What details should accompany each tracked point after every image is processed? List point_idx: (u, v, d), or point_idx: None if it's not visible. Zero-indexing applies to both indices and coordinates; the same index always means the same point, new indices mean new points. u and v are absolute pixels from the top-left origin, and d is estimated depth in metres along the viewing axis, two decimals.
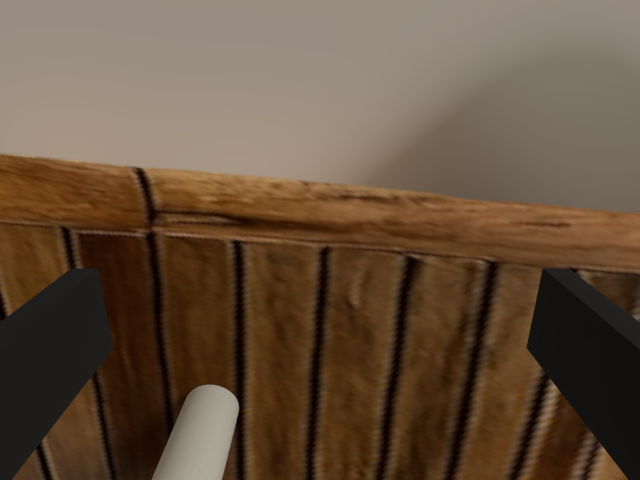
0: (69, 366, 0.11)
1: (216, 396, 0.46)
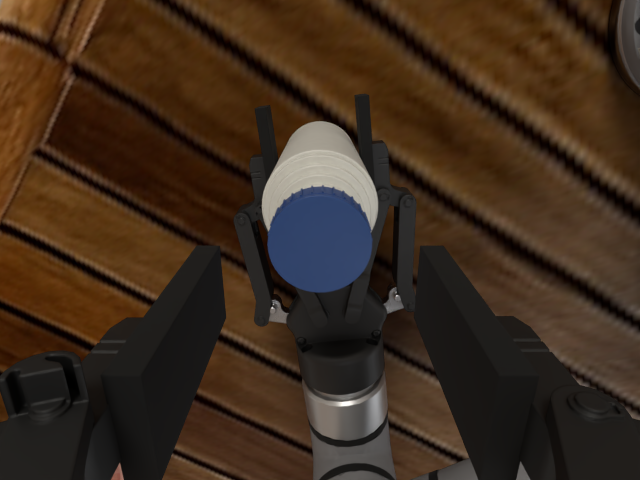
0: (208, 328, 0.13)
1: (297, 131, 0.35)
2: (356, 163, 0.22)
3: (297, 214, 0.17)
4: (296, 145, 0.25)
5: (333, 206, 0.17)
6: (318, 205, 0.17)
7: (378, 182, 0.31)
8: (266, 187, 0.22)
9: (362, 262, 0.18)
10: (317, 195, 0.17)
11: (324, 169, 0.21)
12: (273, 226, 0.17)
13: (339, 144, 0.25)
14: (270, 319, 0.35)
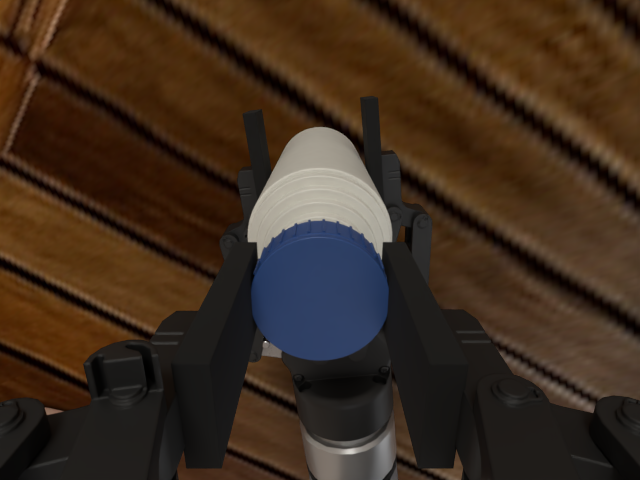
0: (250, 321, 0.13)
1: (293, 138, 0.31)
2: (365, 184, 0.17)
3: (289, 261, 0.13)
4: (291, 159, 0.21)
5: (338, 251, 0.12)
6: (317, 250, 0.12)
7: (388, 199, 0.27)
8: (253, 214, 0.18)
9: (376, 323, 0.13)
10: (316, 236, 0.12)
11: (325, 194, 0.16)
12: (257, 277, 0.13)
13: (343, 158, 0.20)
14: (263, 353, 0.31)
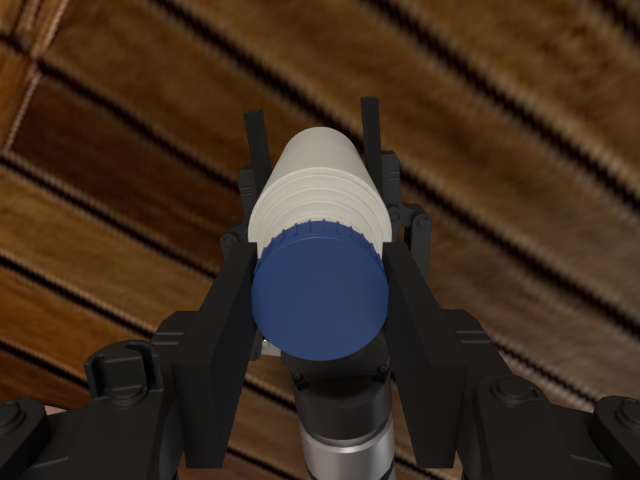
0: (250, 321, 0.13)
1: (294, 138, 0.31)
2: (365, 184, 0.17)
3: (287, 338, 0.14)
4: (291, 158, 0.21)
5: (261, 303, 0.13)
6: (267, 319, 0.13)
7: (387, 199, 0.27)
8: (253, 212, 0.18)
9: (325, 244, 0.12)
10: (256, 322, 0.13)
11: (325, 193, 0.16)
12: (312, 358, 0.14)
13: (343, 158, 0.20)
14: (262, 352, 0.31)
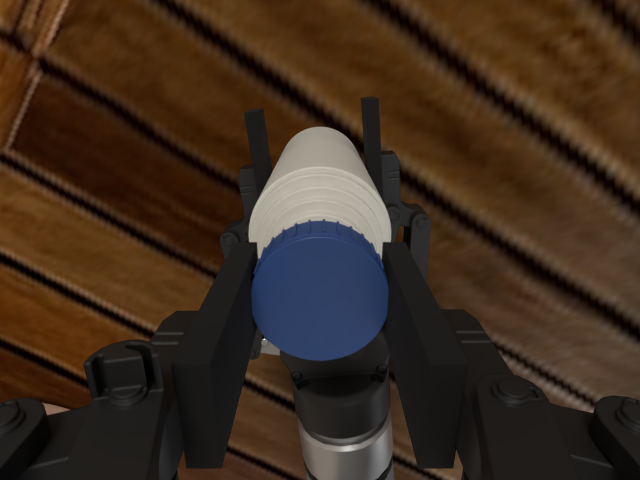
0: (250, 321, 0.13)
1: (294, 138, 0.31)
2: (365, 183, 0.18)
3: (368, 319, 0.13)
4: (292, 158, 0.21)
5: (337, 349, 0.14)
6: (353, 340, 0.14)
7: (387, 199, 0.27)
8: (254, 211, 0.18)
9: (259, 315, 0.13)
10: (361, 347, 0.14)
11: (326, 192, 0.16)
12: (386, 290, 0.13)
13: (344, 157, 0.21)
14: (261, 351, 0.31)
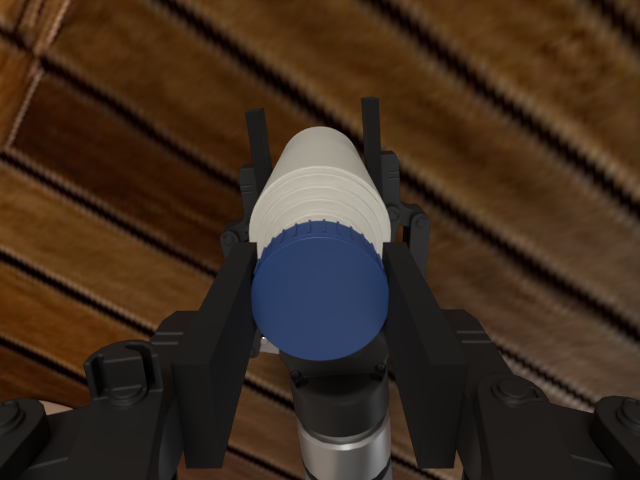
0: (250, 321, 0.13)
1: (294, 137, 0.31)
2: (365, 183, 0.18)
3: (322, 253, 0.12)
4: (292, 157, 0.21)
5: (368, 271, 0.13)
6: (353, 259, 0.13)
7: (387, 199, 0.27)
8: (254, 210, 0.18)
9: (351, 347, 0.14)
10: (359, 248, 0.12)
11: (326, 191, 0.17)
12: (285, 248, 0.12)
13: (344, 157, 0.21)
14: (261, 349, 0.31)
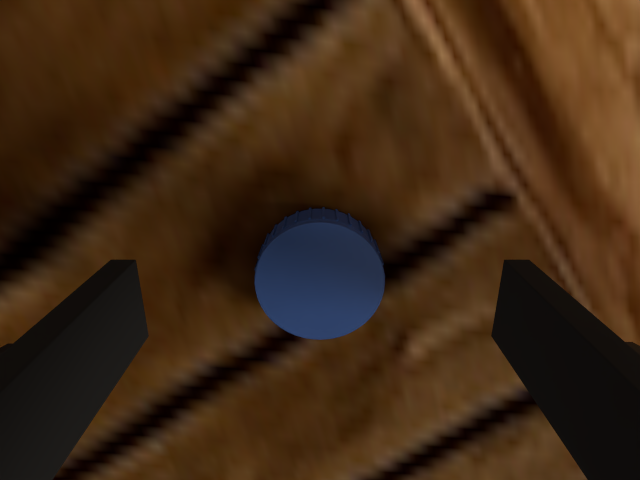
0: (114, 351, 0.11)
1: None
2: None
3: (322, 237, 0.13)
4: None
5: (364, 254, 0.14)
6: (350, 243, 0.14)
7: None
8: None
9: (348, 326, 0.15)
10: (356, 232, 0.13)
11: None
12: (287, 232, 0.13)
13: None
14: None
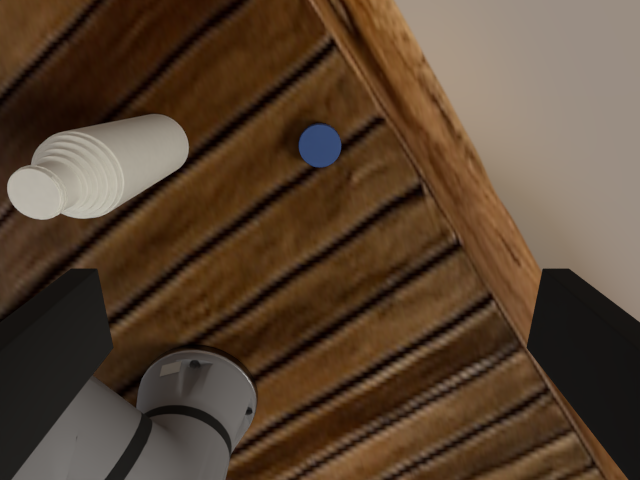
0: (69, 366, 0.11)
1: (180, 137, 0.43)
2: (109, 210, 0.31)
3: (320, 129, 0.43)
4: (143, 160, 0.34)
5: (334, 135, 0.43)
6: (329, 131, 0.43)
7: None
8: (101, 143, 0.29)
9: (329, 162, 0.44)
10: (331, 128, 0.43)
11: (103, 194, 0.29)
12: (309, 128, 0.43)
13: (136, 192, 0.34)
14: None
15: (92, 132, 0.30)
